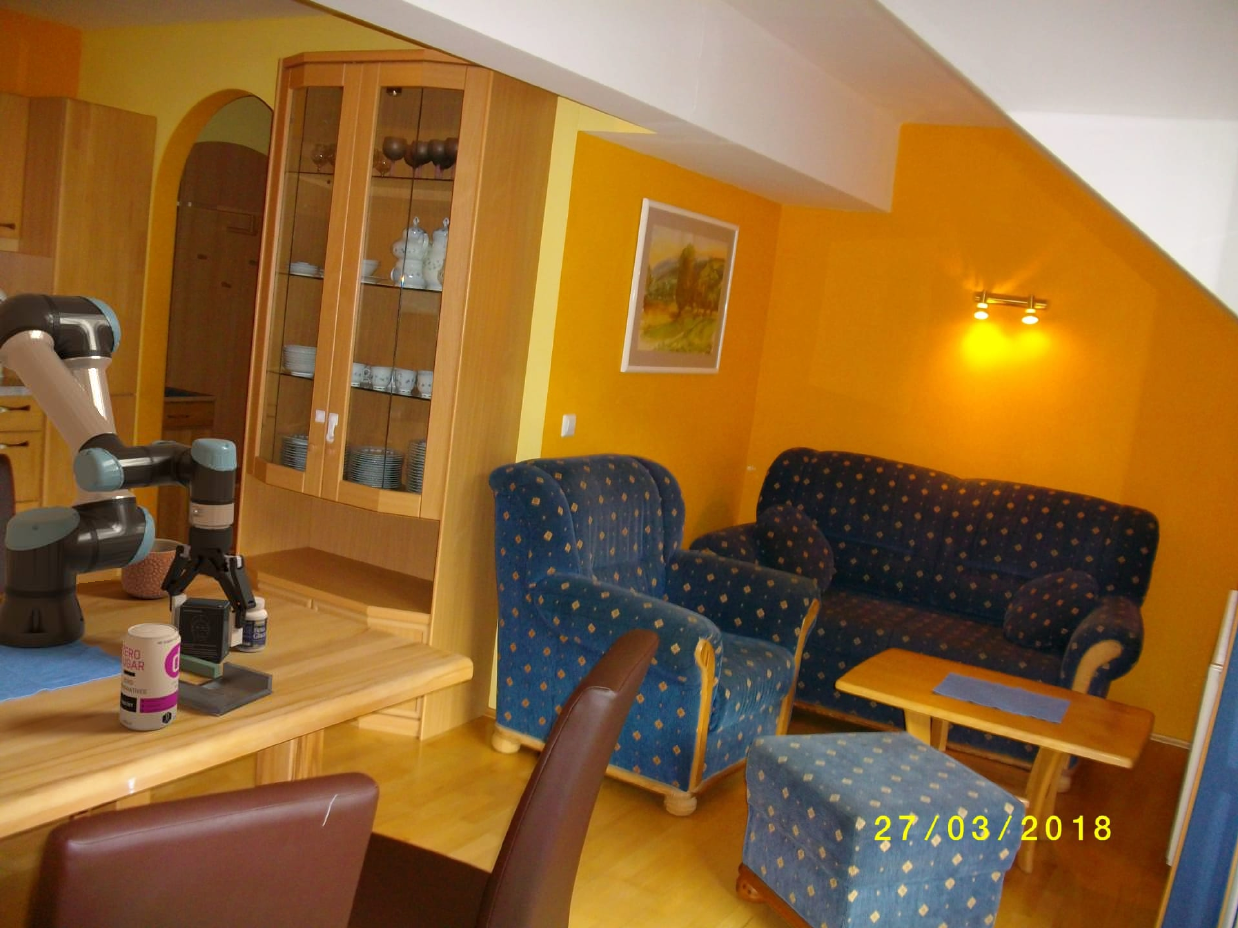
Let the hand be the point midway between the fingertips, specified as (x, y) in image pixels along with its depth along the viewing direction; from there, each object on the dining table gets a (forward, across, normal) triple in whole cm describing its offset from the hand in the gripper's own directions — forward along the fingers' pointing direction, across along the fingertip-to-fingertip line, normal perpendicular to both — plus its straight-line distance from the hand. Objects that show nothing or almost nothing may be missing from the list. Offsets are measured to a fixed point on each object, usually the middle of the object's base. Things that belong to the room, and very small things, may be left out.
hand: (206, 637), depth 192 cm
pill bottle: (+4, +2, +9) cm, 10 cm away
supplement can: (+4, +14, -26) cm, 30 cm away
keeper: (+4, +16, -12) cm, 20 cm away
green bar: (+4, +2, -6) cm, 7 cm away
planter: (+3, -36, +21) cm, 41 cm away
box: (+4, 0, 0) cm, 4 cm away
